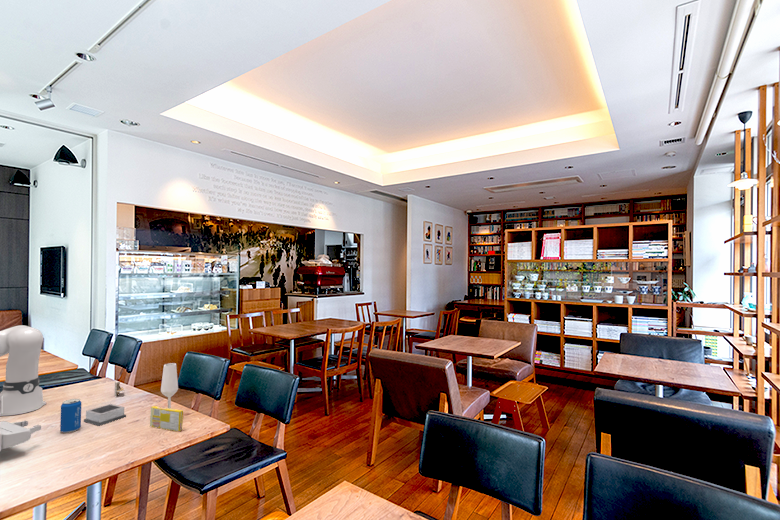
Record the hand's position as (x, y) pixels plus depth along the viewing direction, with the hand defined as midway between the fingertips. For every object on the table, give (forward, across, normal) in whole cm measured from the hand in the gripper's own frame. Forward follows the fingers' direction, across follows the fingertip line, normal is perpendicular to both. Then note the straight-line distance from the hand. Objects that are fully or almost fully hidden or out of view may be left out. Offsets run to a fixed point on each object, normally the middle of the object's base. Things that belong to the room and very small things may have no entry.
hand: (33, 424), depth 146 cm
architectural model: (+47, -29, -7) cm, 56 cm away
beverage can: (+12, 0, -7) cm, 14 cm away
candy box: (+30, +33, -7) cm, 45 cm away
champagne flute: (+37, +25, -7) cm, 45 cm away
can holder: (+25, 0, -7) cm, 26 cm away
